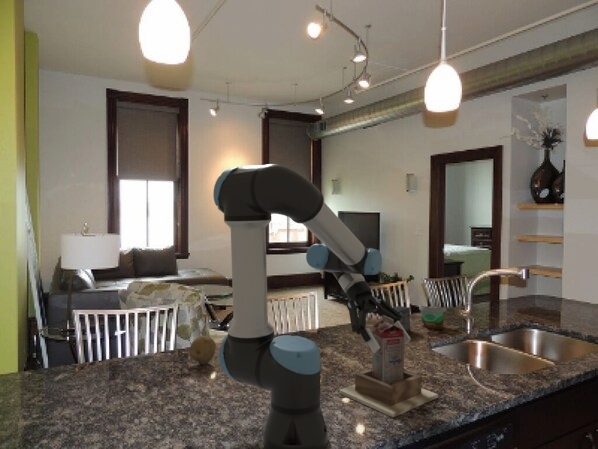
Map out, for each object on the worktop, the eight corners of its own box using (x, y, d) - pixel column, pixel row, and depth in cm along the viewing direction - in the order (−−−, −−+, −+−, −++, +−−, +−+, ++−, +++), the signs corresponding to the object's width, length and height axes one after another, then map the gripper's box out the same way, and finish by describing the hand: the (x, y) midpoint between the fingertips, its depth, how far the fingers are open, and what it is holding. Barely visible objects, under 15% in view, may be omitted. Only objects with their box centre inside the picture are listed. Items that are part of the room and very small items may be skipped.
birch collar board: (393, 417, 116) (393, 394, 116) (339, 393, 132) (339, 373, 131) (437, 397, 129) (437, 376, 129) (383, 377, 144) (383, 358, 144)
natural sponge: (196, 370, 150) (196, 341, 150) (184, 363, 157) (184, 335, 157) (220, 364, 156) (220, 336, 155) (208, 358, 163) (207, 331, 162)
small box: (397, 328, 206) (397, 305, 205) (410, 330, 201) (410, 307, 201) (386, 332, 197) (386, 309, 197) (399, 335, 193) (399, 311, 193)
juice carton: (382, 397, 126) (383, 320, 125) (372, 388, 132) (372, 315, 132) (403, 395, 128) (404, 319, 127) (392, 386, 134) (393, 313, 134)
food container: (418, 328, 204) (418, 306, 204) (418, 325, 210) (419, 304, 210) (446, 330, 201) (446, 308, 200) (446, 327, 207) (446, 305, 206)
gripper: (375, 290, 150) (411, 344, 139) (320, 298, 134) (355, 361, 123) (388, 276, 146) (426, 331, 134) (332, 283, 130) (370, 347, 119)
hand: (392, 346), depth 129 cm, fingers open, 13 cm apart
